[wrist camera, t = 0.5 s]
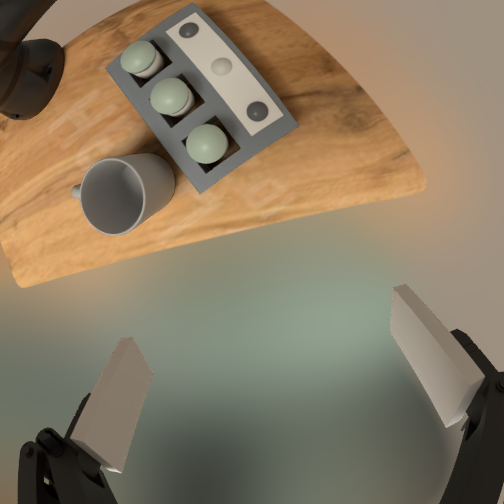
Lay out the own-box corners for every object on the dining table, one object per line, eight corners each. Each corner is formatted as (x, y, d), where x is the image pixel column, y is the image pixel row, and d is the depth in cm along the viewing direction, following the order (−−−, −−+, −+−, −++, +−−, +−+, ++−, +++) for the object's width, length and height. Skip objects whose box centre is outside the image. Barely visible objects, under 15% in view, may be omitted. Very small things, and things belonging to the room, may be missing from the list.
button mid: (156, 100, 28) (143, 94, 24) (183, 79, 27) (173, 70, 23) (174, 124, 29) (163, 121, 25) (202, 103, 28) (195, 97, 24)
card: (166, 32, 24) (165, 31, 23) (195, 13, 23) (195, 11, 22) (251, 136, 29) (251, 136, 28) (283, 115, 28) (283, 115, 28)
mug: (177, 153, 34) (148, 155, 23) (174, 214, 37) (146, 240, 27) (101, 154, 33) (55, 159, 23) (101, 210, 36) (59, 232, 26)
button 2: (129, 66, 26) (114, 57, 22) (154, 45, 25) (142, 34, 21) (144, 86, 27) (131, 79, 23) (171, 65, 26) (160, 54, 22)
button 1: (187, 141, 30) (178, 140, 26) (216, 120, 29) (210, 116, 25) (208, 168, 31) (201, 171, 27) (236, 148, 30) (234, 147, 26)
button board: (119, 75, 29) (105, 68, 25) (198, 15, 26) (192, 2, 22) (206, 189, 35) (200, 194, 31) (293, 128, 33) (299, 126, 28)
